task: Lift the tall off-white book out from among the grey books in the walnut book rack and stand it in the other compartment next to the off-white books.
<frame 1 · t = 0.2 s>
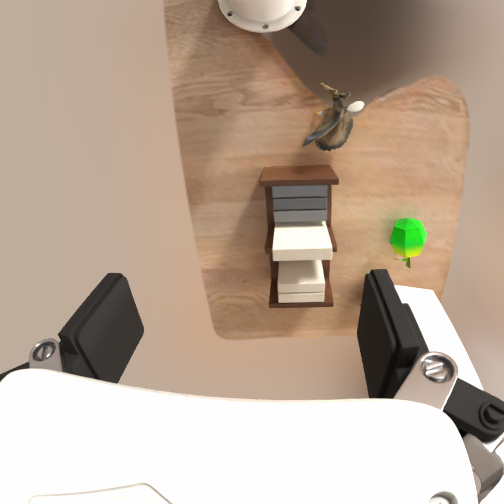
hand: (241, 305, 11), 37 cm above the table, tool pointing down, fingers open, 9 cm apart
white book: (299, 214, 47), point 1 cm above the table, touching book rack
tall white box: (397, 297, 54), on the table
book rack: (299, 226, 49), on the table
white books: (300, 280, 49), point 4 cm above the table
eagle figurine: (328, 119, 41), on the table
grey books: (299, 195, 42), point 4 cm above the table
apple: (403, 235, 48), on the table
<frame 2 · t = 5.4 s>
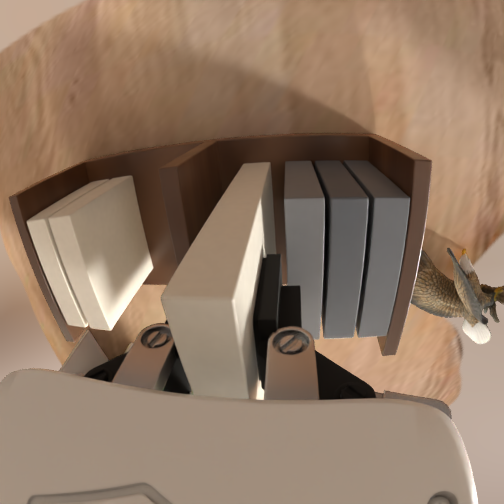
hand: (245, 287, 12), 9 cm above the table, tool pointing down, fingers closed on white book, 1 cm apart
white book: (261, 217, 19), point 1 cm above the table, touching book rack, gripper
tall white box: (121, 377, 31), on the table
book rack: (223, 213, 20), on the table
white books: (97, 248, 17), point 4 cm above the table
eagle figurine: (448, 269, 20), on the table
grey books: (335, 241, 15), point 4 cm above the table
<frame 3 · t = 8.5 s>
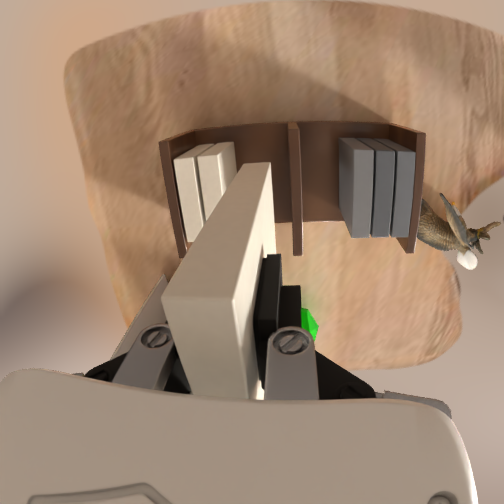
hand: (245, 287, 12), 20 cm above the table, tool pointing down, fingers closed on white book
white book: (261, 217, 19), point 12 cm above the table, touching gripper
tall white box: (184, 320, 40), on the table
book rack: (294, 171, 29), on the table
white books: (211, 188, 26), point 4 cm above the table
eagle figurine: (443, 217, 29), on the table
grey books: (372, 183, 24), point 4 cm above the table
apple: (281, 315, 38), on the table
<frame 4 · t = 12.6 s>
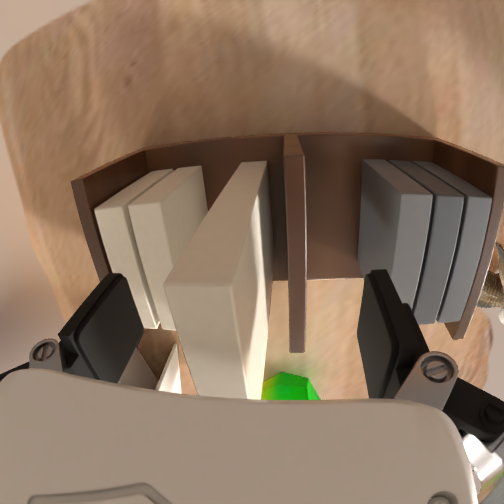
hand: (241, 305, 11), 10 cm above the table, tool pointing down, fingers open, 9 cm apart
white book: (258, 215, 20), point 1 cm above the table, touching book rack
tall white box: (157, 379, 31), on the table
book rack: (294, 208, 20), on the table
white books: (166, 242, 17), point 4 cm above the table
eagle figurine: (487, 264, 20), on the table
grey books: (414, 235, 15), point 4 cm above the table
apple: (275, 381, 29), on the table
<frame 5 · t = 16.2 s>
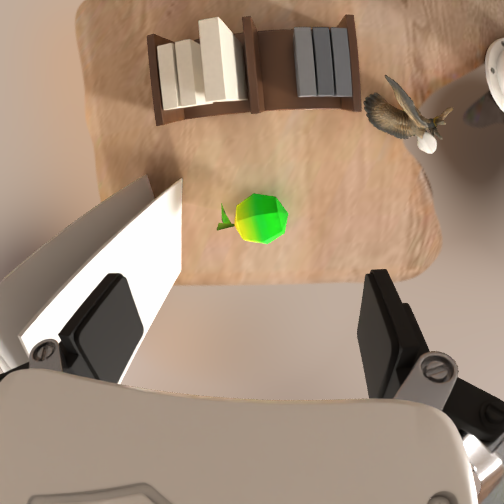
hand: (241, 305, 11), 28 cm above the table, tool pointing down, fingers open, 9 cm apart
white book: (238, 72, 31), point 1 cm above the table, touching book rack
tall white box: (163, 223, 42), on the table
book rack: (258, 71, 31), on the table
white books: (187, 76, 28), point 4 cm above the table
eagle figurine: (399, 112, 31), on the table
grey books: (320, 64, 26), point 4 cm above the table
apple: (254, 212, 40), on the table
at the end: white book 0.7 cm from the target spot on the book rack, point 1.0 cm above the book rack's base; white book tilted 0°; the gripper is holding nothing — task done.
